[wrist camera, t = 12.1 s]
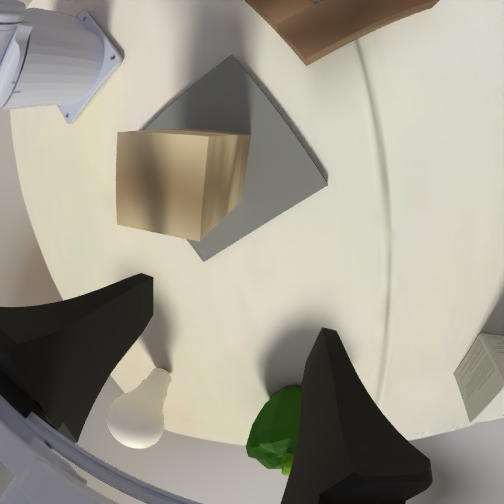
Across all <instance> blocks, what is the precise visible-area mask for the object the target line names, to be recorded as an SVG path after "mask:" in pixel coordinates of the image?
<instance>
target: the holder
mask: <svg viewBox="0 0 504 504" xmlns="http://www.w3.org/2000/svg"><path fill="white" fill-rule="evenodd" d="M245 1H246V2H247V3H248V4H249V5H250V6H251V7H253V8H254V9H255V10H256V11H257V12H258V13H259V14H260V15H261V16H262V17H263V18H264V19H265V20H266V21H267V22H268V23H269V24H270V25H271V26H272V28H273V29H274V30H275V31H276V32H277V33H278V34H279V35H280V36H281V37H282V38H283V39H284V40H285V42H286V43H287V44H288V45H289V46H290V47H291V48H292V49H293V51H294V52H295V53H296V54H297V55H298V56H299V58H300V59H301V60H302V61H303V62H304V64H305V65H306V66H307V65H309V64H311V63H313V62H314V61H316V60H318V59H320V58H321V57H323V56H325V55H327V54H329V53H330V52H332V51H334V50H336V49H338V48H340V47H342V46H343V45H345V44H347V43H349V42H351V41H353V40H355V39H357V38H359V37H361V36H363V35H366V34H368V33H370V32H372V31H374V30H376V29H379V28H381V27H383V26H385V25H388V24H390V23H392V22H395V21H397V20H400V19H402V18H405V17H407V16H410V15H412V14H415V13H418V12H421V11H423V10H426V9H429V8H432V7H433V6H434V5H435V4H436V3H437V2H438V1H439V0H322V1H320V2H318V3H316V4H314V3H313V2H312V1H311V0H245Z"/></svg>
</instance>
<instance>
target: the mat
mask: <svg viewBox="0 0 504 504" xmlns="http://www.w3.org/2000/svg"><path fill="white" fill-rule="evenodd" d="M160 129H201V130H213V131H223V132H233V133H242V134H250V135H251V138H250V146H249V153H248V161H247V168H246V176H245V184H244V192H243V199H242V200H241V201H240V202H239V203H238V204H237V205H236V206H235V207H234V208H233V209H232V210H231V211H230V212H229V213H228V214H227V215H226V216H225V217H224V218H223V219H222V220H221V221H220V222H219V223H218V224H217V225H216V226H215V227H214V228H213V229H212V230H211V231H210V232H209V233H208V234H207V235H206V236H205V237H204V238H203V239H202V240H201V241H200V242H199V241H194V240H189V239H187V241H188V242H189V243H190V245H191V246H192V247H193V248H194V250H195V251H196V252H197V254H198V255H199V256H200V258H201V259H202V260H203V262H204V261H206V260H208V259H209V258H211V257H212V256H214V255H215V254H217V253H219V252H220V251H222V250H223V249H225V248H227V247H228V246H230V245H231V244H233V243H235V242H236V241H238V240H239V239H241V238H243V237H244V236H246V235H247V234H249V233H251V232H252V231H254V230H255V229H257V228H259V227H260V226H262V225H263V224H265V223H267V222H268V221H270V220H271V219H273V218H275V217H276V216H278V215H280V214H281V213H283V212H284V211H286V210H288V209H289V208H291V207H293V206H294V205H296V204H298V203H299V202H301V201H302V200H304V199H306V198H307V197H309V196H311V195H312V194H314V193H316V192H317V191H319V190H321V189H322V188H324V187H326V186H327V185H328V183H327V182H326V180H325V179H324V177H323V176H322V174H321V173H320V171H319V169H318V168H317V166H316V165H315V163H314V162H313V160H312V159H311V157H310V156H309V154H308V153H307V151H306V150H305V148H304V147H303V146H302V144H301V143H300V141H299V140H298V138H297V137H296V136H295V134H294V133H293V131H292V130H291V129H290V127H289V126H288V124H287V123H286V122H285V120H284V119H283V118H282V116H281V115H280V114H279V112H278V111H277V110H276V108H275V107H274V106H273V104H272V103H271V102H270V100H269V99H268V98H267V97H266V95H265V94H264V93H263V91H262V90H261V89H260V88H259V86H258V85H257V84H256V83H255V81H254V80H253V79H252V78H251V77H250V75H249V74H248V73H247V72H246V71H245V69H244V68H243V67H242V66H241V65H240V63H239V62H238V61H237V60H236V59H235V58H234V57H233V56H232V55H231V56H230V57H229V58H227V59H226V60H224V61H223V62H222V63H220V64H219V65H218V66H216V67H215V68H214V69H213V70H211V71H210V72H209V73H207V74H206V75H205V76H204V77H202V78H201V79H200V80H199V81H197V82H196V83H195V84H194V85H193V86H191V87H190V88H189V89H188V90H187V91H186V92H184V93H183V94H182V95H181V96H180V97H179V98H178V99H176V100H175V101H174V102H173V103H172V104H171V105H170V106H169V107H168V108H166V109H165V110H164V111H163V112H162V113H161V114H160V115H159V116H158V117H157V118H156V119H155V120H154V121H153V122H152V123H151V124H150V125H149V126H148V127H147V128H146V129H145V130H160Z"/></svg>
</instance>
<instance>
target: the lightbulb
mask: <svg viewBox="0 0 504 504" xmlns="http://www.w3.org/2000/svg"><path fill="white" fill-rule="evenodd" d="M171 380H172V379H171V376H170V374H169V373H168V372H167V371H166V370H165V369H160V368H155V369H153V371H152V372H151V373H150V374H149V376H148V377H147V379H144V380H143V381H142V382H141V384H140V385H139V386H138V387H137V388H136V389H134V390H132V391H131V392H128V393H126V394H124V395H121V396H119V397H117V398H116V399H115V400H113V401H112V402H111V404H110V406H109V408H108V410H107V415H106V417H107V425H108V428H109V430H110V431H111V434H112V435H113V436H114V437H115V439H117V440H118V441H119V442H120V443H122V444H124V445H126V446H128V447H132V448H146V447H149V446H151V445H153V444H155V443H156V442H157V441H158V440H159V439H160V437H161V435H162V433H163V430H164V417H163V404H164V400H165V398H166V396H167V389H168V387H169V385H170V383H171Z"/></svg>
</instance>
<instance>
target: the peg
mask: <svg viewBox="0 0 504 504" xmlns="http://www.w3.org/2000/svg"><path fill="white" fill-rule="evenodd" d="M250 138H251V135H250V134H242V133H233V132H223V131H213V130H201V129H160V130H142V131H129V132H118V135H117V158H116V207H117V225H122V226H127V227H132V228H136V229H141V230H146V231H151V232H156V233H161V234H165V235H170V236H175V237H180V238H185V239H189V240H194V241H199V242H200V241H201V240H202V239H203V238H204V237H205V236H206V235H207V234H208V233H209V232H210V231H211V230H212V229H213V228H214V227H215V226H216V225H217V224H218V223H219V222H220V221H221V220H222V219H223V218H224V217H225V216H226V215H227V214H228V213H229V212H230V211H231V210H232V209H233V208H234V207H235V206H236V205H237V204H238V203H239V202H240V201H241V200H242V199H243V192H244V184H245V176H246V168H247V161H248V153H249V146H250Z"/></svg>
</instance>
